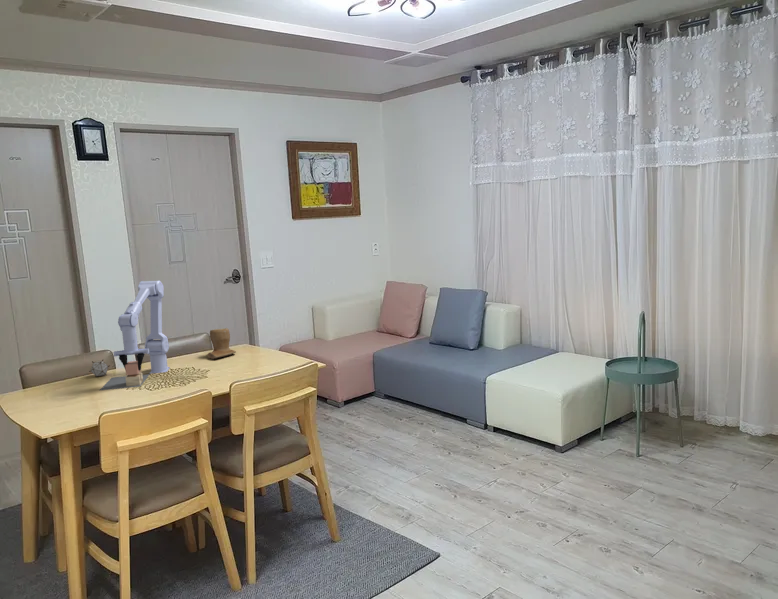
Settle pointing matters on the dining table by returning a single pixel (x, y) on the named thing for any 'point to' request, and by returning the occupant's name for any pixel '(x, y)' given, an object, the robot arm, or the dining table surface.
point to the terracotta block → (132, 368)
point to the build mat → (120, 383)
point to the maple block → (134, 379)
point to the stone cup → (220, 343)
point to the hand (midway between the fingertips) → (133, 370)
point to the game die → (99, 368)
